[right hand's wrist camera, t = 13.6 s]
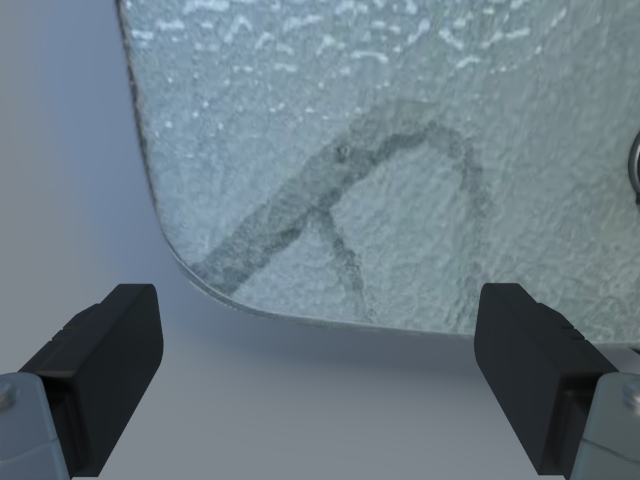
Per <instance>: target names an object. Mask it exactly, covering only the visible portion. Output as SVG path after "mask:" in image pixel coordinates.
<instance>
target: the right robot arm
mask: <svg viewBox="0 0 640 480" xmlns="http://www.w3.org/2000/svg"><path fill="white" fill-rule="evenodd" d="M628 170H629V176H630V180H631V182H632V185H633V186H634V188H635V190H636V191H637V198H636V204H638V205H640V132H639V133H638V135H637V137H636V139H635V141H634V143H633V145H632V148H631V151H630V155H629V162H628ZM628 348H630V349H631V350H633V351H634V352H636V353H637V354H639V355H640V349H639V348H633V347H628ZM474 350H475V357H476V361H477V363H478V366H479V367H480V369H481V371H482V373H483V375H484V377H485V379H486V380H487V382H488V384H489V386H490V388H491V389H492V391H493V393H494V395H495V397H496V399H497V400H498V402H499V404H500V406H501V408H502V409H503V411H504V413H505V415H506V417H507V419H508V420H509V422H510V424H511V426H512V428H513V430H514V431H515V433H516V435H517V437H518V439H519V440H520V442H521V444H522V446H523V448H524V450H525V451H526V453H527V455H528V457H529V459H530V461H531V463H532V464H533V466H534V468H535V470H536V472H537V473H538V475H563V476H564V478H565V479H566V480H640V375H638V374H633V373H626V372H619V371H618V370H617V369H616V368H615V367H614V366H613V365H612V364H611V363H610V362H609V361H608V360H607V359H606V358H605V357H604V356H603V355H602V354H601V353H600V352H599V351H598V350H597V349H596V348H595V347H594V346H593V345H592V344H591V343H590V342H589V341H588V340H585V337H584V336H583V335H582V334H581V333H580V332H579V331H578V330H577V329H574V326H573V325H572V324H571V323H570V322H569V321H568V320H567V319H566V318H565V317H564V316H563V315H562V314H560V313H559V312H557V311H555V310H553V309H551V308H550V307H548V306H546V305H544V304H542V303H537V302H536V301H535V300H534V299H533V298H532V297H531V296H530V295H529V294H528V293H527V292H526V291H525V290H524V289H523V288H522V287H521V286H520V285H519V284H518V283H485V284H484V285H483V287H482V290H481V294H480V302H479V309H478V316H477V323H476V331H475V338H474ZM162 356H163V334H162V327H161V320H160V313H159V306H158V298H157V292H156V289H155V287H154V285H153V284H119V285H118V286H116V288H115V289H114V290H113V291H112V292H111V293H110V294H109V295H108V296H107V297H106V298H105V299H104V300H103V301H102V302H101V303H100V304H94V305H93V306H91V307H89V308H87V309H85V310H83V311H82V312H80V313H78V314H76V315H75V316H74V317H73V318H72V319H71V320H70V321H69V322H68V323H67V324H66V325H65V326H64V327H63V330H60V331H59V332H58V333H57V334H56V335H55V336H54V337H53V338H52V341H49V342H48V343H47V344H46V345H45V346H43V347H42V348H41V349H40V350H39V351H38V352H37V353H36V354H35V355H34V356H33V357H32V358H31V359H30V360H29V361H28V362H27V363H26V364H25V365H24V366H23V367H22V368H21V369H20V370H19V371H18V372H14V373H7V374H2V375H0V480H71V479H72V478H73V477H98V476H99V474H100V472H101V470H102V469H103V467H104V465H105V463H106V461H107V460H108V458H109V456H110V454H111V452H112V451H113V449H114V447H115V445H116V443H117V442H118V440H119V438H120V436H121V434H122V432H123V431H124V429H125V427H126V425H127V424H128V422H129V420H130V418H131V416H132V415H133V413H134V411H135V409H136V407H137V405H138V404H139V402H140V400H141V398H142V396H143V395H144V393H145V391H146V389H147V387H148V386H149V384H150V382H151V380H152V378H153V377H154V375H155V373H156V371H157V369H158V368H159V366H160V363H161V360H162Z"/></svg>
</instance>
